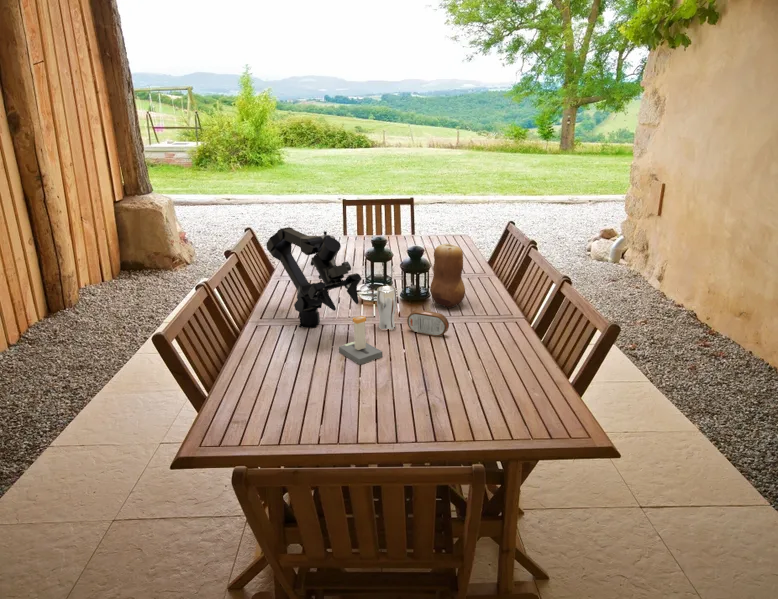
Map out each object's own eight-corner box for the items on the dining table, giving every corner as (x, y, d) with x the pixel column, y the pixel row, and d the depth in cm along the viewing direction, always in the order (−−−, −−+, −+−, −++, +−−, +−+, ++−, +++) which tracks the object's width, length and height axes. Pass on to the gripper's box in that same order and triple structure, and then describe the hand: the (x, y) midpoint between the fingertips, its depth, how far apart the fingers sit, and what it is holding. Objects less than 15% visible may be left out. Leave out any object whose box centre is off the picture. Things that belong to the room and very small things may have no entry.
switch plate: (338, 352, 192) (338, 346, 191) (361, 345, 197) (361, 339, 197) (359, 364, 183) (359, 358, 182) (382, 357, 188) (382, 350, 188)
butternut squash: (466, 301, 237) (468, 241, 228) (462, 312, 224) (464, 250, 216) (432, 298, 240) (433, 239, 231) (427, 310, 227) (427, 248, 219)
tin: (448, 335, 204) (449, 313, 201) (445, 339, 201) (446, 316, 198) (409, 329, 210) (409, 307, 207) (406, 332, 207) (406, 310, 204)
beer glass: (394, 332, 207) (394, 292, 202) (375, 330, 209) (374, 291, 204) (398, 324, 214) (397, 286, 209) (379, 323, 215) (378, 285, 210)
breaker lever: (353, 348, 189) (352, 318, 186) (362, 345, 191) (361, 315, 188) (357, 350, 187) (356, 320, 184) (366, 347, 190) (366, 317, 186)
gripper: (310, 260, 185) (331, 300, 181) (357, 250, 196) (378, 288, 192) (299, 279, 194) (319, 318, 189) (344, 268, 205) (365, 305, 200)
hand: (346, 306), depth 192 cm, fingers open, 9 cm apart
